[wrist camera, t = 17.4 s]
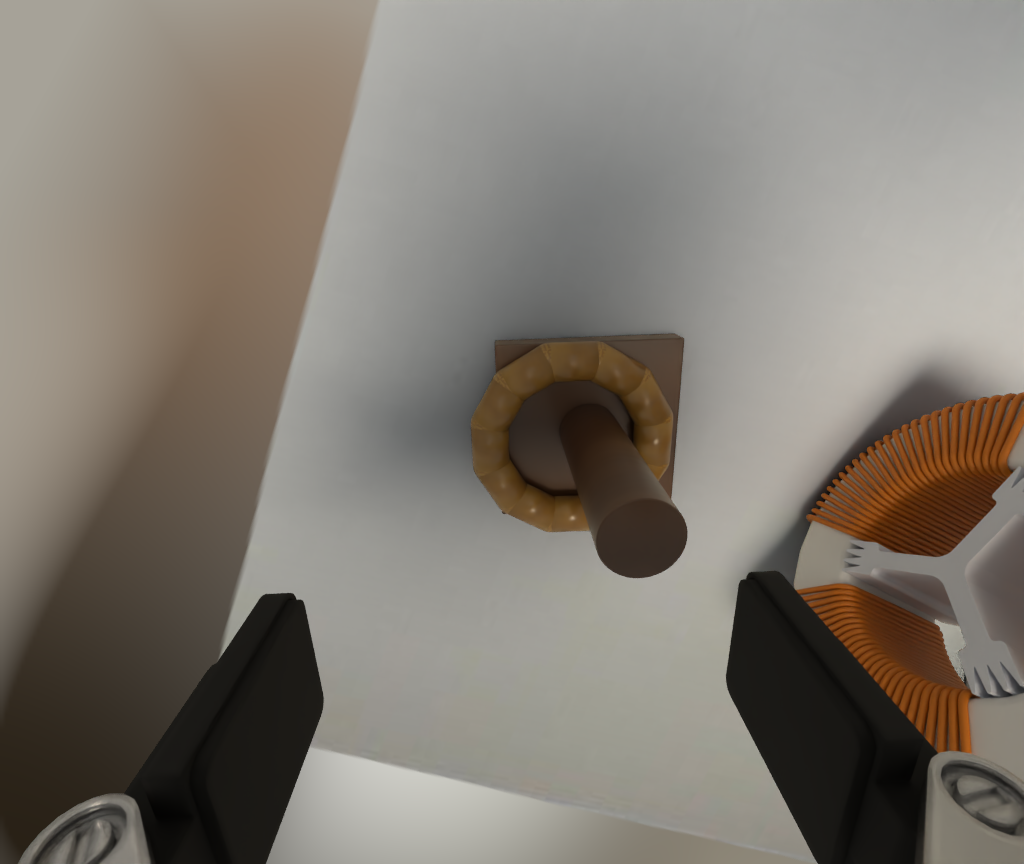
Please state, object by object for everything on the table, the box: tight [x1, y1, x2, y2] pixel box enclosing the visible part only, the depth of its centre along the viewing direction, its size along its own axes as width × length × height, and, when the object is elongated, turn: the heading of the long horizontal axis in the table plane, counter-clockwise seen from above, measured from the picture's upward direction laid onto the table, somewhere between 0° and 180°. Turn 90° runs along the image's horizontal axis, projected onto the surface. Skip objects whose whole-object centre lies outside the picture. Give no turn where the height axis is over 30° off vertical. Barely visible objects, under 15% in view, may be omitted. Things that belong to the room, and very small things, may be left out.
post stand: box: [495, 334, 687, 578], centre depth 19 cm, size 8×8×10 cm
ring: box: [471, 341, 673, 532], centre depth 22 cm, size 9×9×2 cm
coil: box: [794, 392, 1024, 781], centre depth 19 cm, size 7×15×15 cm, turn 151°
